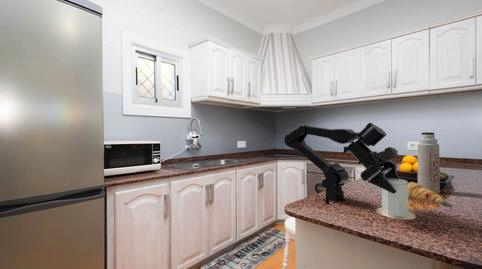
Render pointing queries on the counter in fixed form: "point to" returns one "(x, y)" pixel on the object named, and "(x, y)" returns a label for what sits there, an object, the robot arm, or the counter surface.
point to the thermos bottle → (428, 162)
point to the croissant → (422, 193)
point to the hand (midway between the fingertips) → (399, 190)
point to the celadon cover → (396, 198)
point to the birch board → (410, 216)
